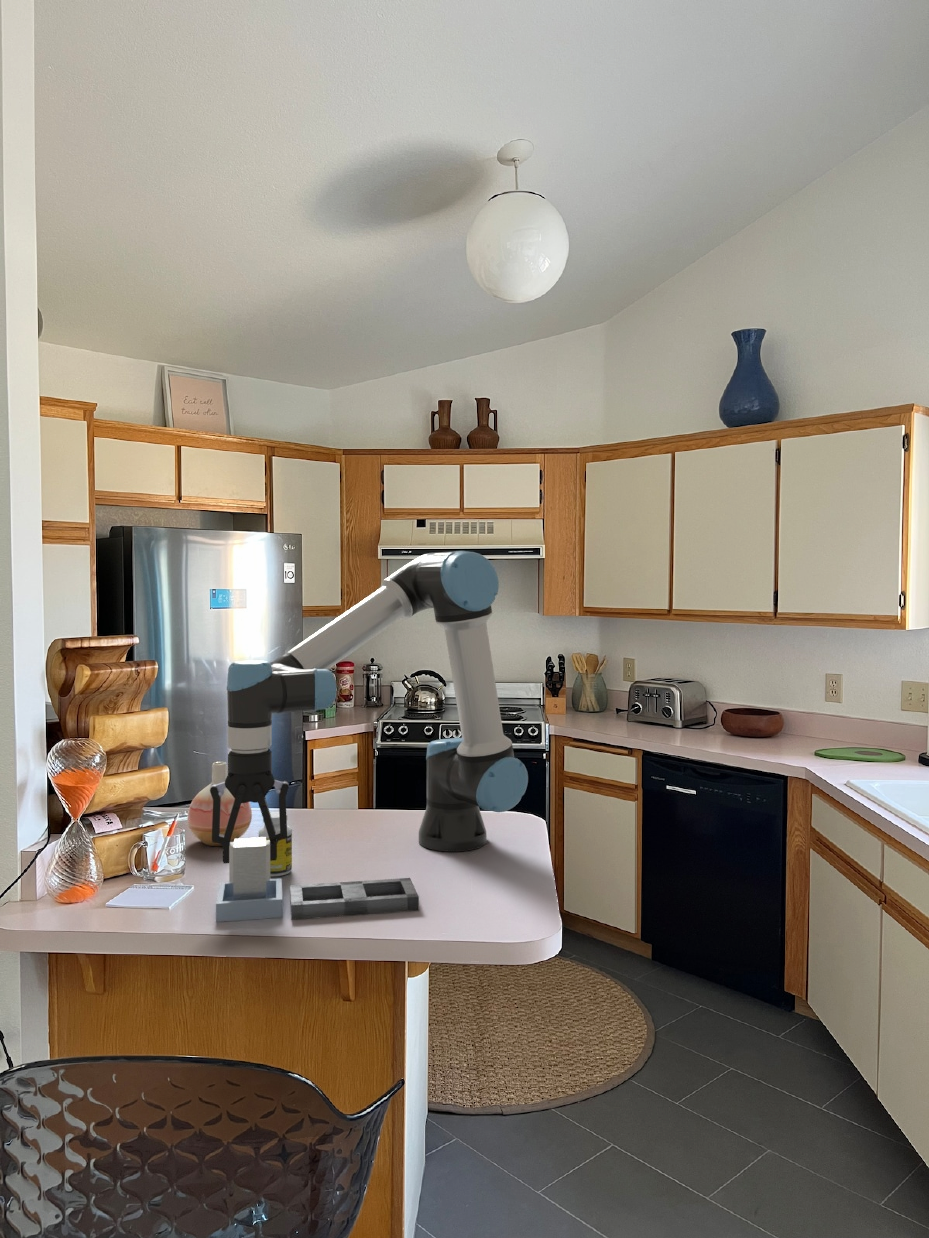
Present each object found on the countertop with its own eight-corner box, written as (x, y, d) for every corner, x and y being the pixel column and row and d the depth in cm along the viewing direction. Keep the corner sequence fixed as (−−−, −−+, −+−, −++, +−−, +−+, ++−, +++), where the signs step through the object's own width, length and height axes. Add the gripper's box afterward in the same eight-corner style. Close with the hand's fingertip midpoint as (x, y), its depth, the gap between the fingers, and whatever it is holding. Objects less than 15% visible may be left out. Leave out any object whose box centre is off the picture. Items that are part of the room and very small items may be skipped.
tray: (281, 894, 163) (281, 878, 163) (282, 917, 152) (282, 899, 152) (219, 898, 161) (219, 882, 161) (216, 921, 150) (215, 903, 150)
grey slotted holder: (410, 890, 166) (410, 877, 166) (418, 910, 156) (418, 896, 156) (290, 899, 161) (290, 885, 161) (291, 919, 151) (291, 905, 151)
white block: (266, 891, 160) (266, 836, 159) (266, 902, 154) (265, 845, 154) (234, 893, 159) (234, 838, 158) (233, 904, 153) (233, 847, 153)
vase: (218, 855, 186) (217, 772, 185) (174, 844, 193) (173, 764, 193) (264, 839, 198) (264, 761, 197) (221, 830, 205) (221, 754, 204)
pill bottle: (284, 879, 172) (284, 819, 171) (253, 876, 173) (252, 817, 173) (297, 868, 178) (297, 811, 178) (267, 866, 180) (266, 809, 179)
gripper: (302, 743, 161) (302, 869, 162) (196, 746, 157) (197, 875, 158) (304, 751, 154) (304, 883, 155) (192, 755, 150) (193, 890, 151)
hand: (250, 879), depth 156 cm, fingers closed on white block, 5 cm apart
